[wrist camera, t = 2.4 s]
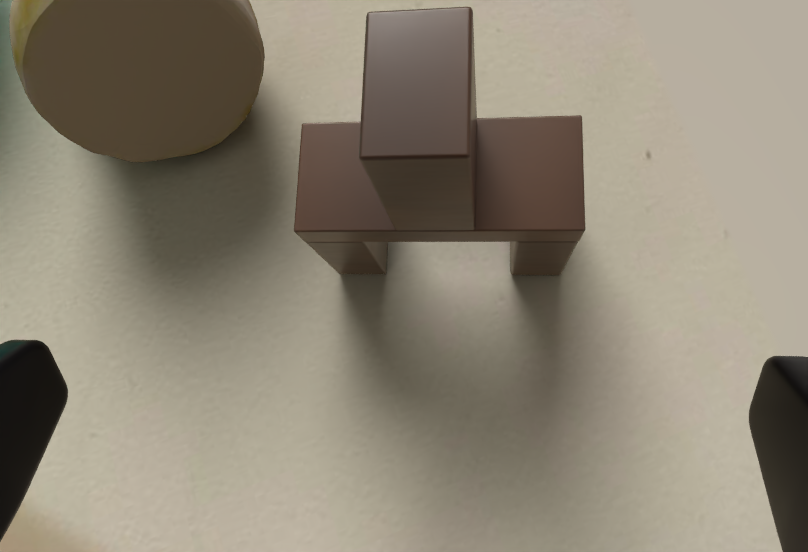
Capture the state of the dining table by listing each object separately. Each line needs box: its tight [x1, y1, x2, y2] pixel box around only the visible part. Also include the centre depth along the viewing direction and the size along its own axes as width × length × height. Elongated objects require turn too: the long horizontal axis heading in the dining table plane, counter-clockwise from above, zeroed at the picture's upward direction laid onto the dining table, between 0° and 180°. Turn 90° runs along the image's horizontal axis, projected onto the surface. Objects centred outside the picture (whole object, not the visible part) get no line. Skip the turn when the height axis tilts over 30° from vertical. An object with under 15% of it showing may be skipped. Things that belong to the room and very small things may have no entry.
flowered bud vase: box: [9, 0, 265, 162], centre depth 20 cm, size 8×10×10 cm
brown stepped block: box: [294, 7, 585, 275], centre depth 16 cm, size 7×3×10 cm, turn 88°
